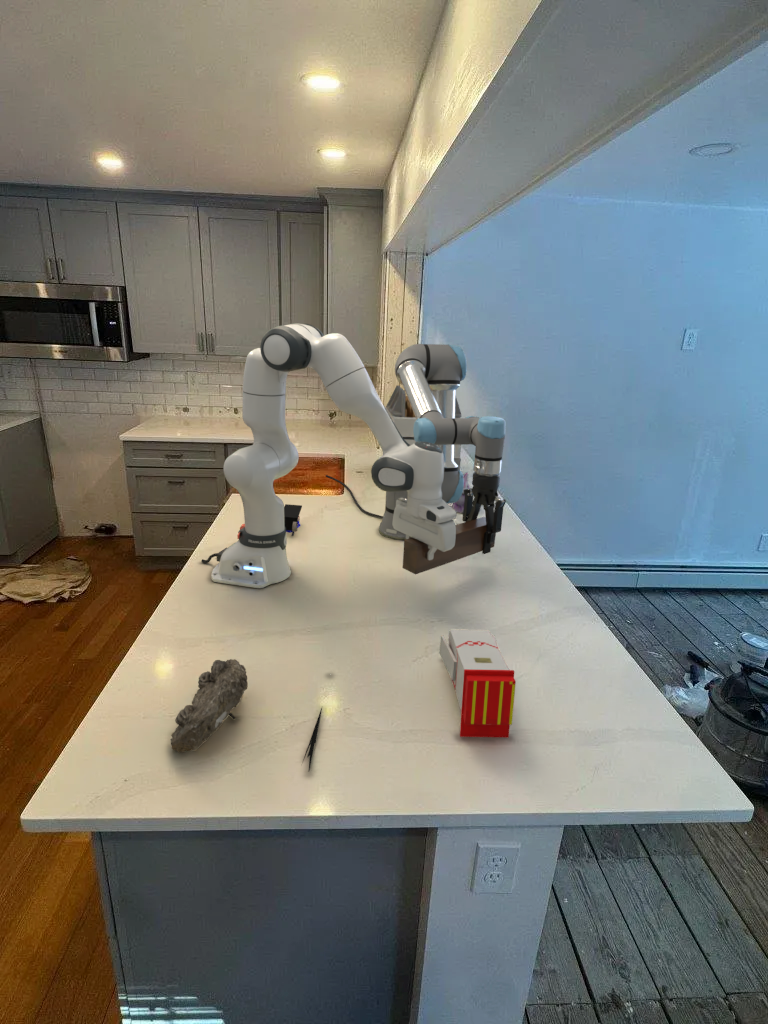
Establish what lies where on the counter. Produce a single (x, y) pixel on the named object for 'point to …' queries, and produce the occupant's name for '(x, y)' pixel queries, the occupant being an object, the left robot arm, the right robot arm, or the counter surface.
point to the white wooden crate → (412, 418)
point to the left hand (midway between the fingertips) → (420, 555)
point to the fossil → (210, 704)
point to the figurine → (459, 504)
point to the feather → (313, 740)
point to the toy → (479, 682)
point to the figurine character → (291, 517)
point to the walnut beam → (465, 545)
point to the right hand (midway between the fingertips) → (478, 549)
